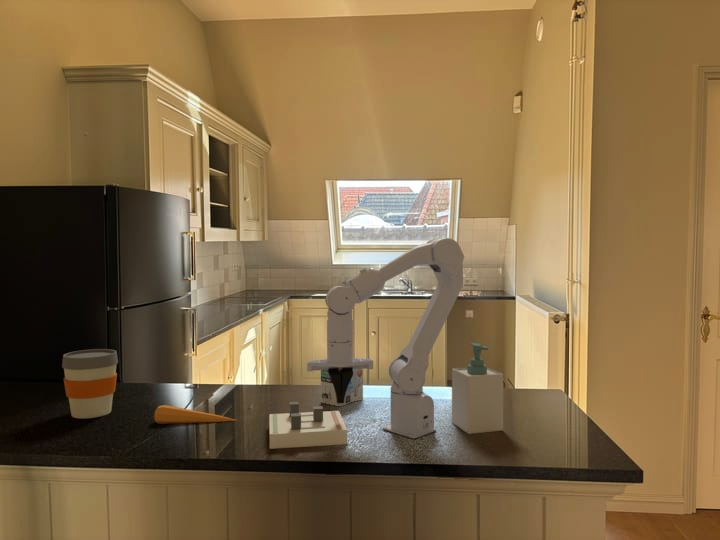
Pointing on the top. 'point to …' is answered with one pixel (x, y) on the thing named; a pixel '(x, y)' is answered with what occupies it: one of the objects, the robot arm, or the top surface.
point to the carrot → (185, 416)
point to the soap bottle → (477, 396)
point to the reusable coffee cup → (90, 381)
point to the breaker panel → (306, 429)
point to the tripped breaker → (318, 413)
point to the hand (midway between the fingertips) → (340, 402)
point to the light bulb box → (352, 392)
